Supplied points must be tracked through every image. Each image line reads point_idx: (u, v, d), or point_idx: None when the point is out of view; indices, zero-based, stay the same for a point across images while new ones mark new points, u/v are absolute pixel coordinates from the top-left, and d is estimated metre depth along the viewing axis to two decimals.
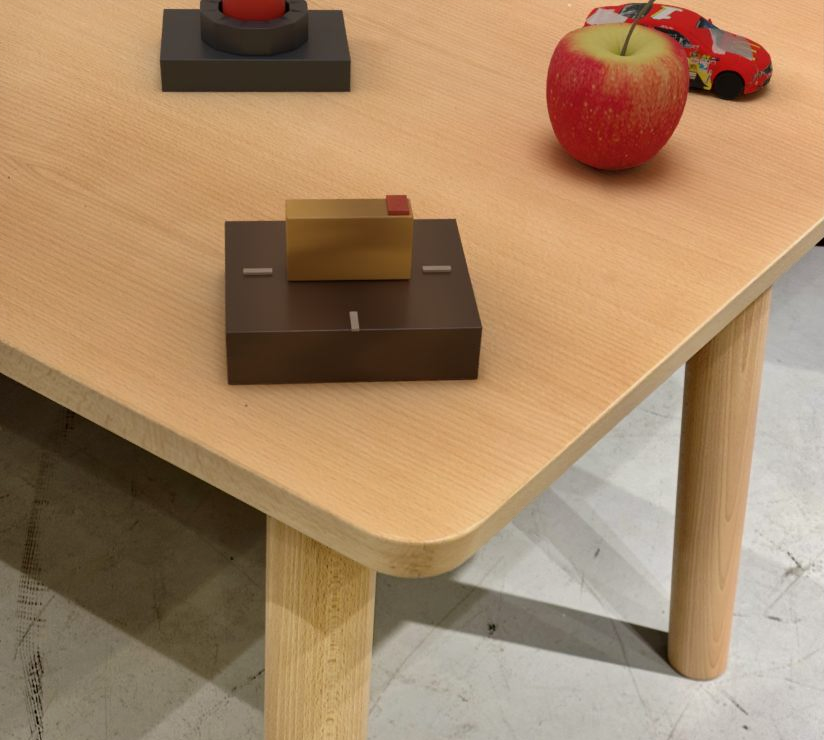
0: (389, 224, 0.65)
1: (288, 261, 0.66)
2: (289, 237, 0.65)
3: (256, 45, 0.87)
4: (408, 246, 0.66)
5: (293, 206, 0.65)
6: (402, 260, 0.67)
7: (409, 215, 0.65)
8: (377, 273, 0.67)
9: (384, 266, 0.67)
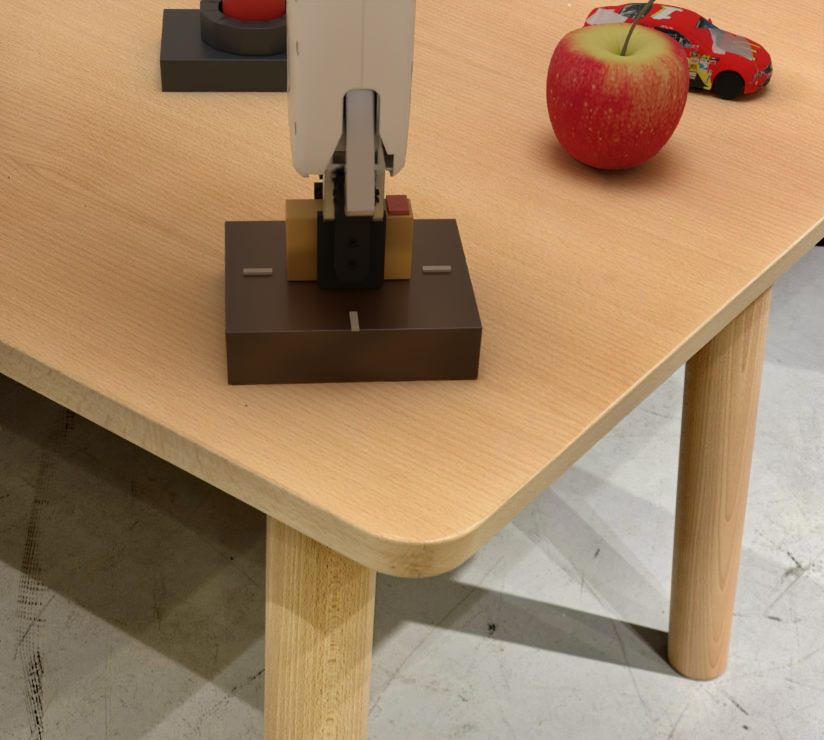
0: (389, 224, 0.65)
1: (288, 261, 0.66)
2: (289, 237, 0.65)
3: (256, 45, 0.87)
4: (408, 246, 0.66)
5: (293, 206, 0.65)
6: (402, 260, 0.67)
7: (409, 215, 0.65)
8: None
9: (384, 266, 0.67)
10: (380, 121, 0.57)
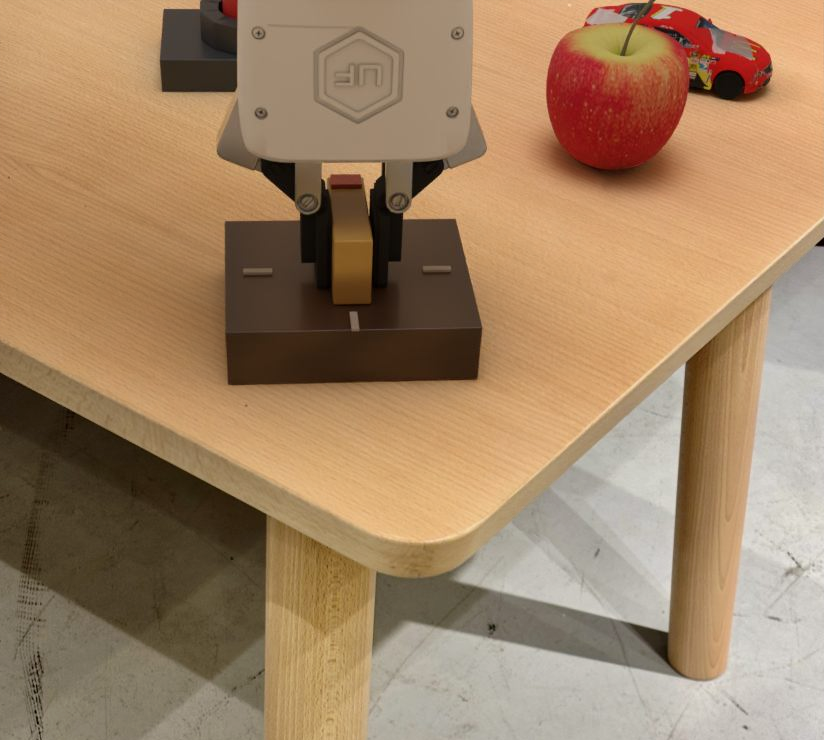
0: None
1: (371, 283, 0.65)
2: None
3: None
4: None
5: (350, 236, 0.64)
6: None
7: (361, 178, 0.68)
8: None
9: None
10: None
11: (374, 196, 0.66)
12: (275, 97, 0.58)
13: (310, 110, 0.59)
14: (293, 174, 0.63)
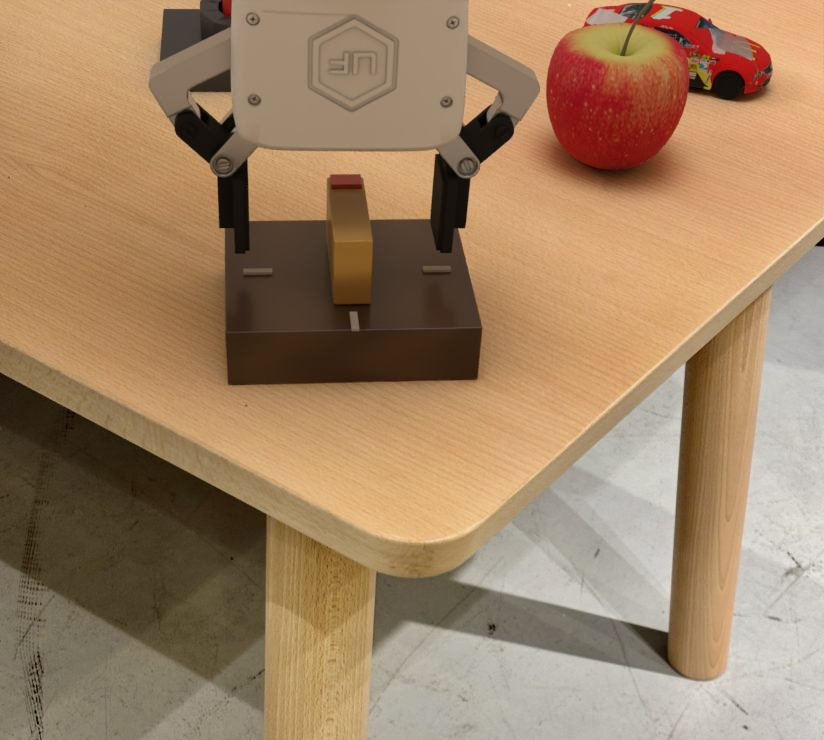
0: None
1: (371, 283, 0.65)
2: None
3: None
4: None
5: (350, 236, 0.64)
6: None
7: (361, 178, 0.68)
8: None
9: None
10: None
11: (440, 161, 0.65)
12: (269, 84, 0.58)
13: (304, 98, 0.59)
14: (208, 135, 0.62)
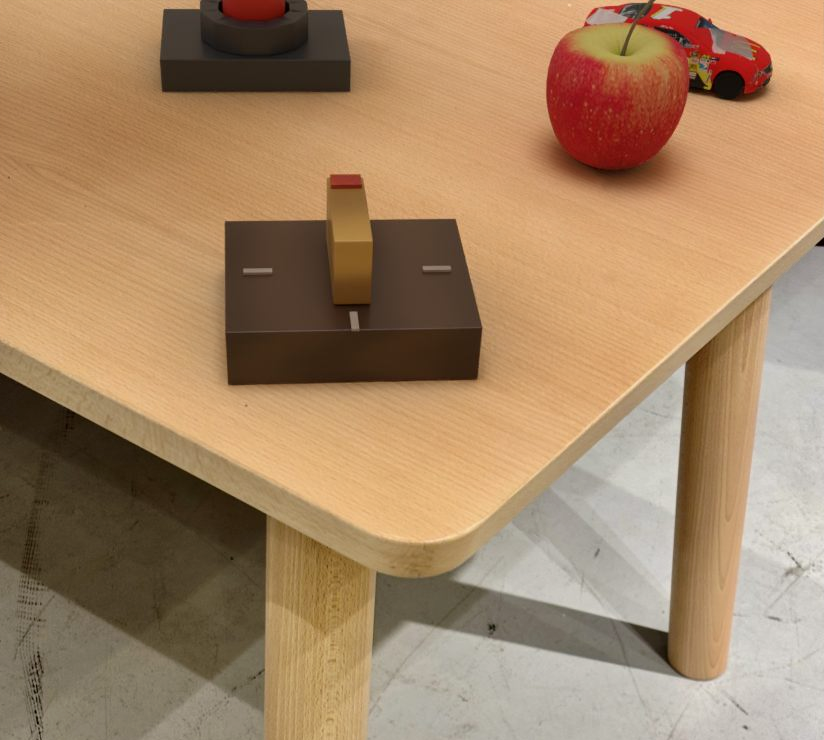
0: None
1: (371, 283, 0.65)
2: None
3: (256, 45, 0.87)
4: None
5: (350, 236, 0.64)
6: None
7: (361, 178, 0.68)
8: None
9: None
10: None
11: None
12: None
13: None
14: None
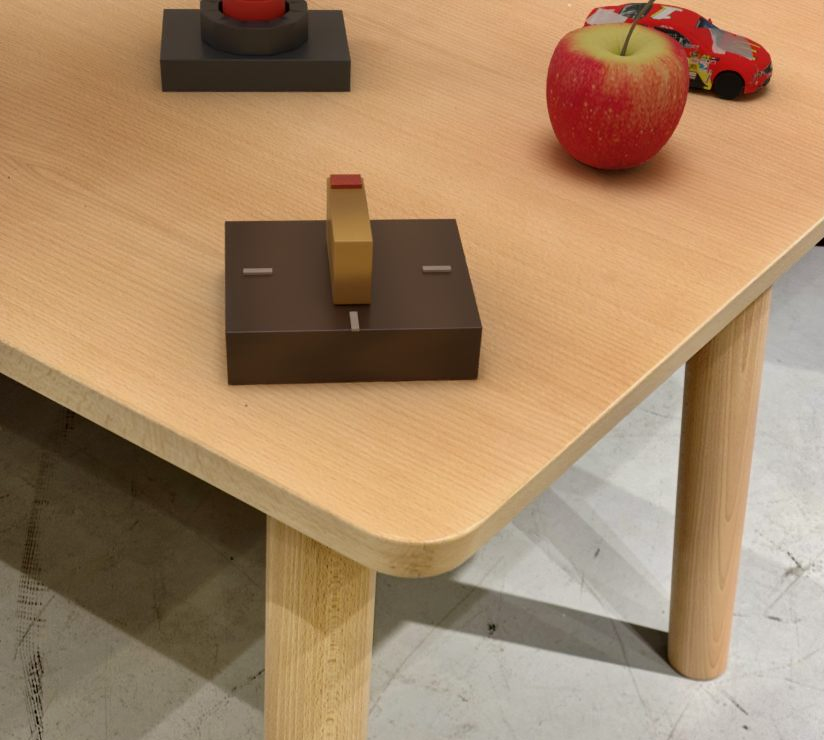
0: None
1: (371, 283, 0.65)
2: None
3: (256, 45, 0.87)
4: None
5: (350, 236, 0.64)
6: None
7: (361, 178, 0.68)
8: None
9: None
10: None
11: None
12: None
13: None
14: None
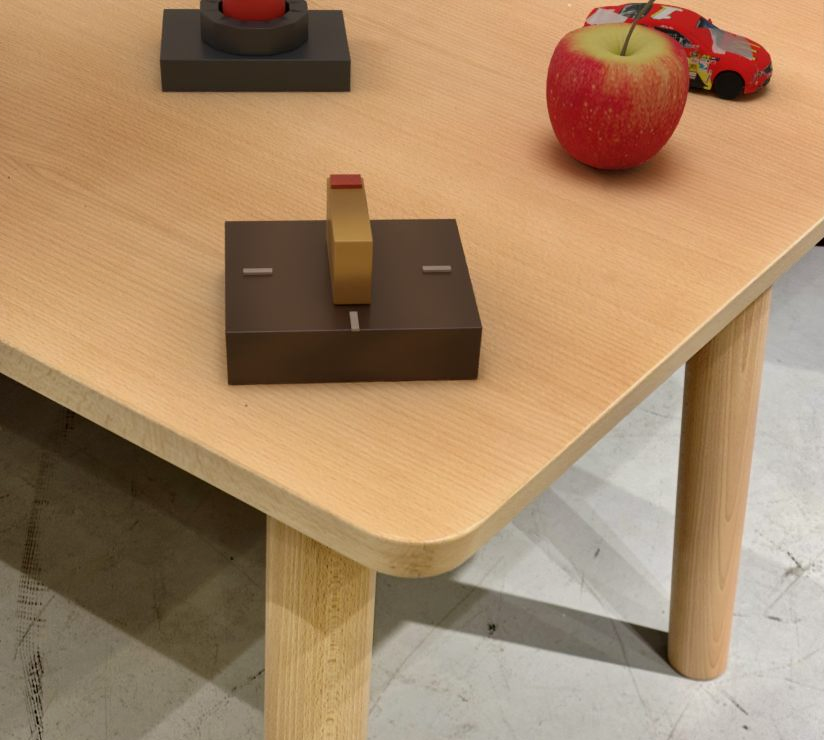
0: None
1: (371, 283, 0.65)
2: None
3: (256, 45, 0.87)
4: None
5: (350, 236, 0.64)
6: None
7: (361, 178, 0.68)
8: None
9: None
10: None
11: None
12: None
13: None
14: None
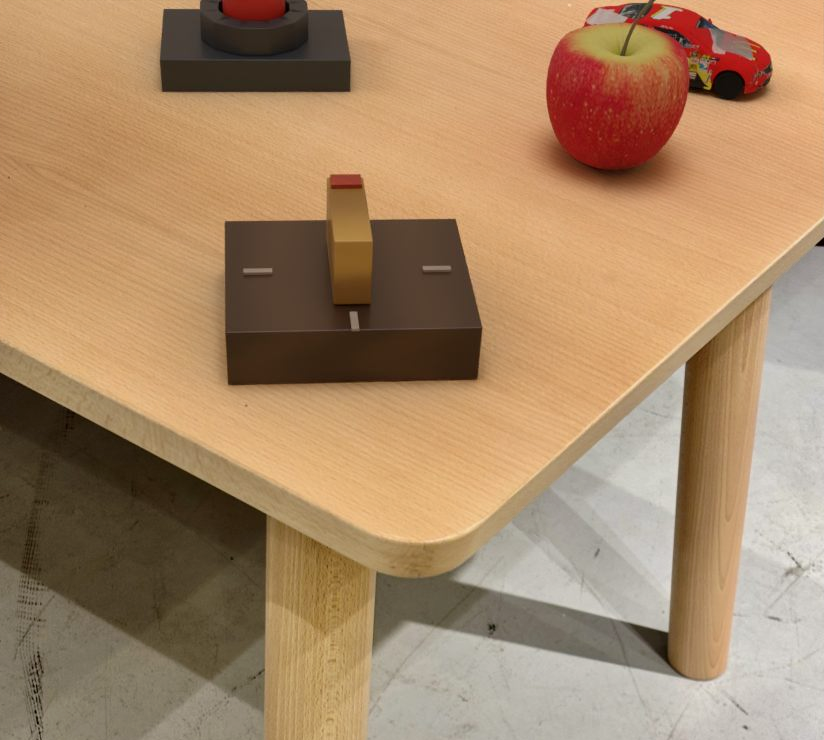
0: None
1: (371, 283, 0.65)
2: None
3: (256, 45, 0.87)
4: None
5: (350, 236, 0.64)
6: None
7: (361, 178, 0.68)
8: None
9: None
10: None
11: None
12: None
13: None
14: None
